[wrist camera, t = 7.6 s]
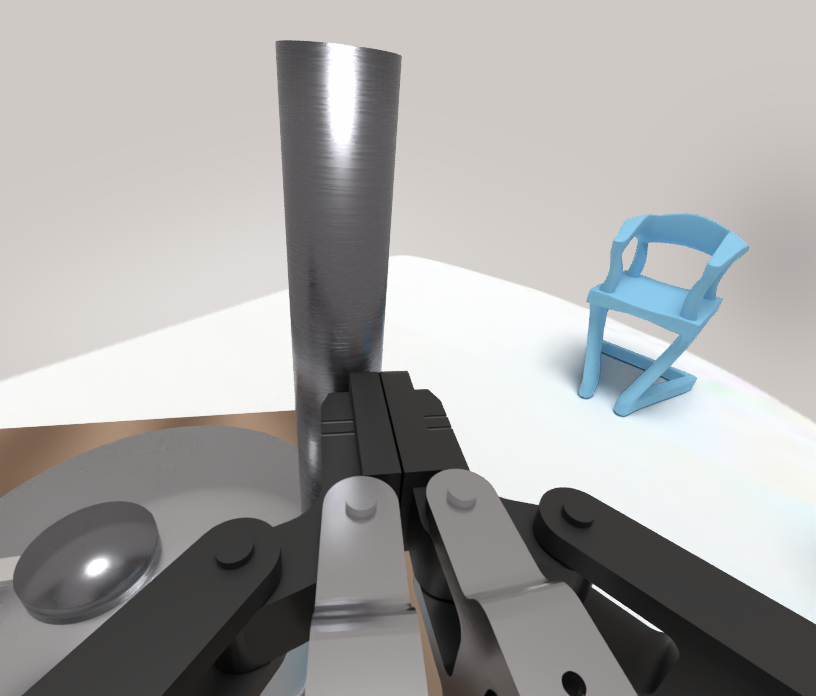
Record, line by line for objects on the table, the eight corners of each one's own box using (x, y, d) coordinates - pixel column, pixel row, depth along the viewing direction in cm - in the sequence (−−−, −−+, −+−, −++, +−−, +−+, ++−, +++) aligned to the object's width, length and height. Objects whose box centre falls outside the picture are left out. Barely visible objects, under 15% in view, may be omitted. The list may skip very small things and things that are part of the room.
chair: (546, 381, 31) (596, 211, 25) (593, 346, 37) (643, 199, 31) (659, 436, 27) (752, 246, 21) (693, 386, 32) (774, 225, 26)
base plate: (-1654, 1921, 4) (-2020, 2069, 3) (-86, 450, 21) (-100, 430, 20) (577, 995, 10) (595, 987, 9) (400, 417, 26) (401, 399, 26)
